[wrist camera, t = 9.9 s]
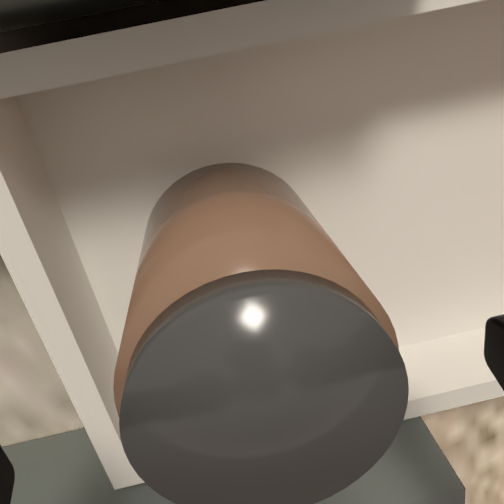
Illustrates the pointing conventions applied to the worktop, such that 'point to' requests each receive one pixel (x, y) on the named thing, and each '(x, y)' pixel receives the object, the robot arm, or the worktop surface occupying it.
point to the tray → (271, 159)
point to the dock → (141, 495)
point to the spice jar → (252, 350)
